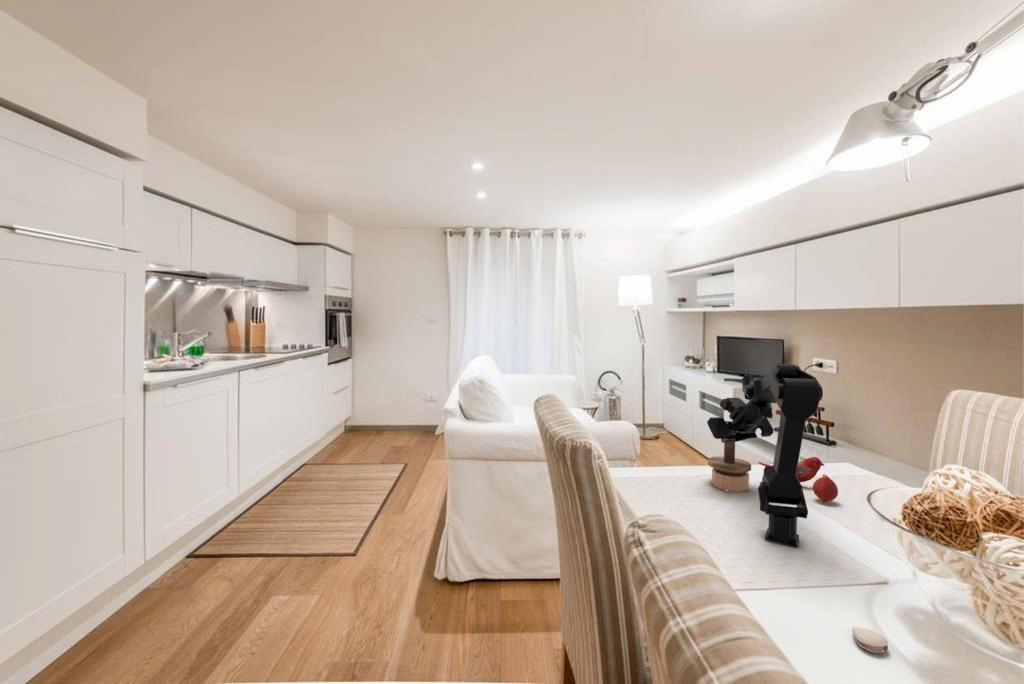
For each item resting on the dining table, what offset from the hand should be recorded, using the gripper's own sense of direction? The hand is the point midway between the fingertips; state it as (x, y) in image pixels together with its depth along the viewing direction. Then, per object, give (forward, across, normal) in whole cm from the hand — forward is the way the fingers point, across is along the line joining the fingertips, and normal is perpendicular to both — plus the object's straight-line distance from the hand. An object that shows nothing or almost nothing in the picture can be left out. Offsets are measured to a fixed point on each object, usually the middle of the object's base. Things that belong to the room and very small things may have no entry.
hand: (726, 441), depth 140 cm
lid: (+4, 0, +6) cm, 7 cm away
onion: (-2, -19, +22) cm, 29 cm away
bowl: (+9, 0, +11) cm, 14 cm away
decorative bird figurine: (+7, -19, +13) cm, 24 cm away
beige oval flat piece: (-37, +23, +57) cm, 72 cm away
